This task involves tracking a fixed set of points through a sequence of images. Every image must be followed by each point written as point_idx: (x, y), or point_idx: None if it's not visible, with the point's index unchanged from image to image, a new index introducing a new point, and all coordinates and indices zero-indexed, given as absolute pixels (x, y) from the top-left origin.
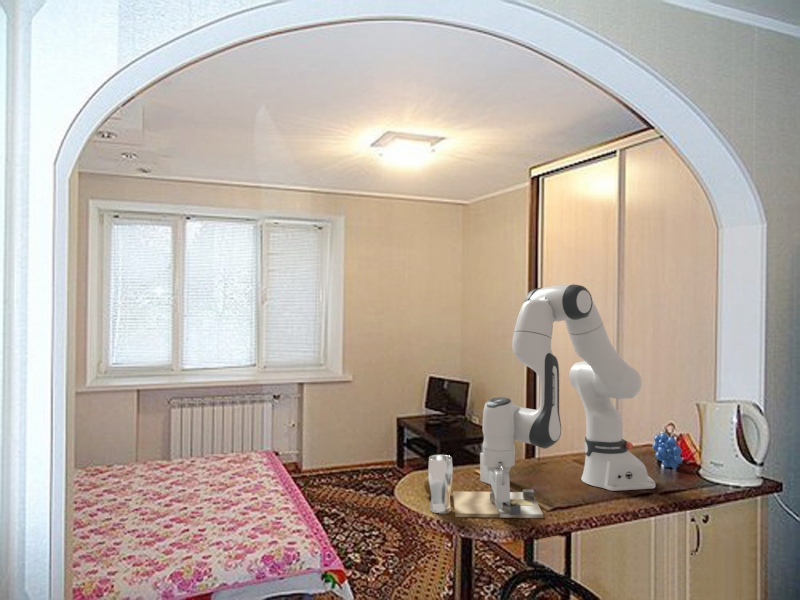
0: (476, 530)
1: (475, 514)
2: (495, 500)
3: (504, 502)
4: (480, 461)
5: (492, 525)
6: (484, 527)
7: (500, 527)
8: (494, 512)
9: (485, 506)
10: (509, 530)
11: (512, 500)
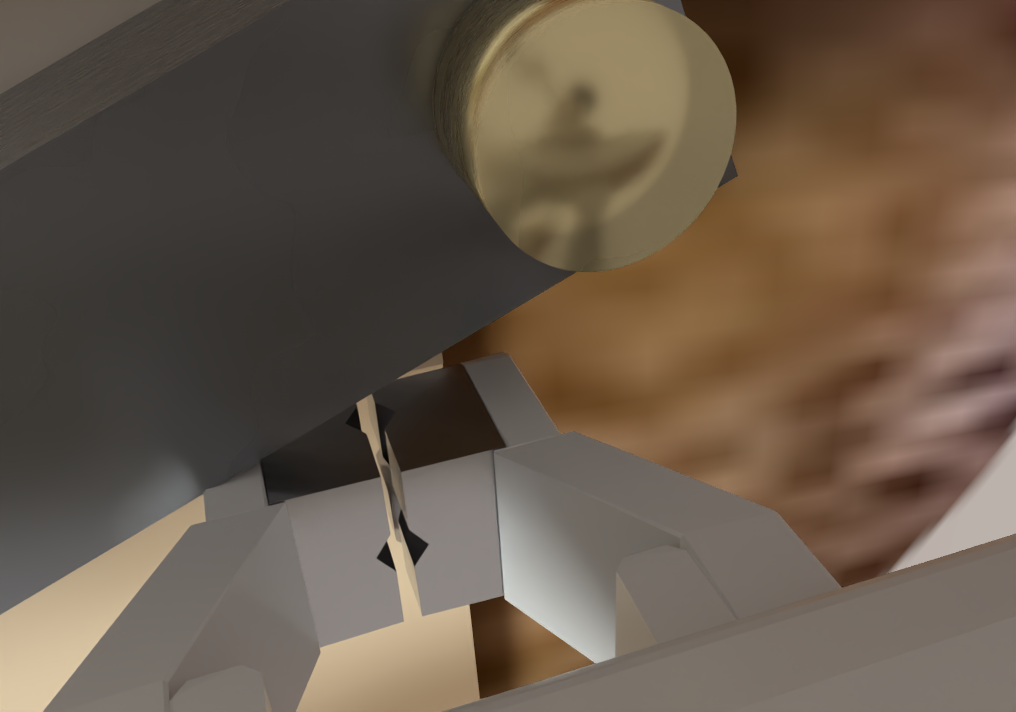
0: (919, 534)
1: (478, 691)
2: (374, 627)
3: (385, 382)
4: None
5: (783, 376)
6: (842, 467)
7: (871, 247)
8: (378, 449)
9: (35, 665)
10: (1009, 88)
11: (663, 179)
